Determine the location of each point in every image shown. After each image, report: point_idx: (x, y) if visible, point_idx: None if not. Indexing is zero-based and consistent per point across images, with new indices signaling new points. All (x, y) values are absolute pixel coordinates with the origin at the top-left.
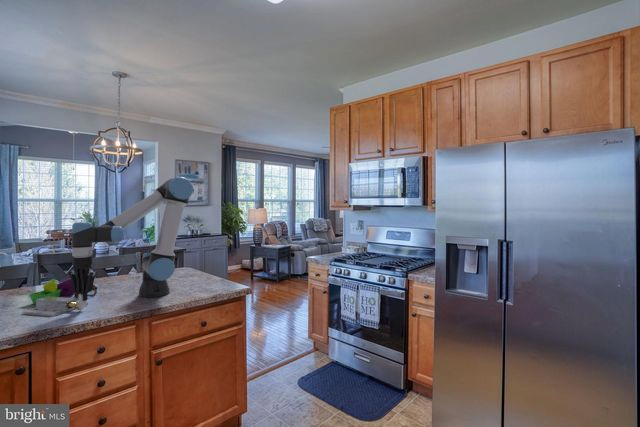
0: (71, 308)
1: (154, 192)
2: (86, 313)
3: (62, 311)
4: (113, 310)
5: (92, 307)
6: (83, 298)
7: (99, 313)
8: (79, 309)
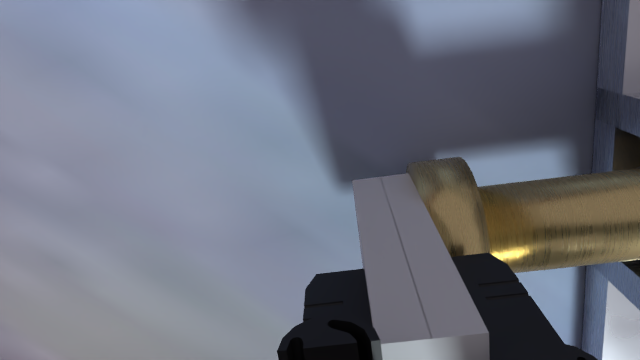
0: None
1: None
2: (225, 149)
3: (618, 32)
4: (23, 348)
5: None
6: (346, 304)
7: (53, 207)
8: None
